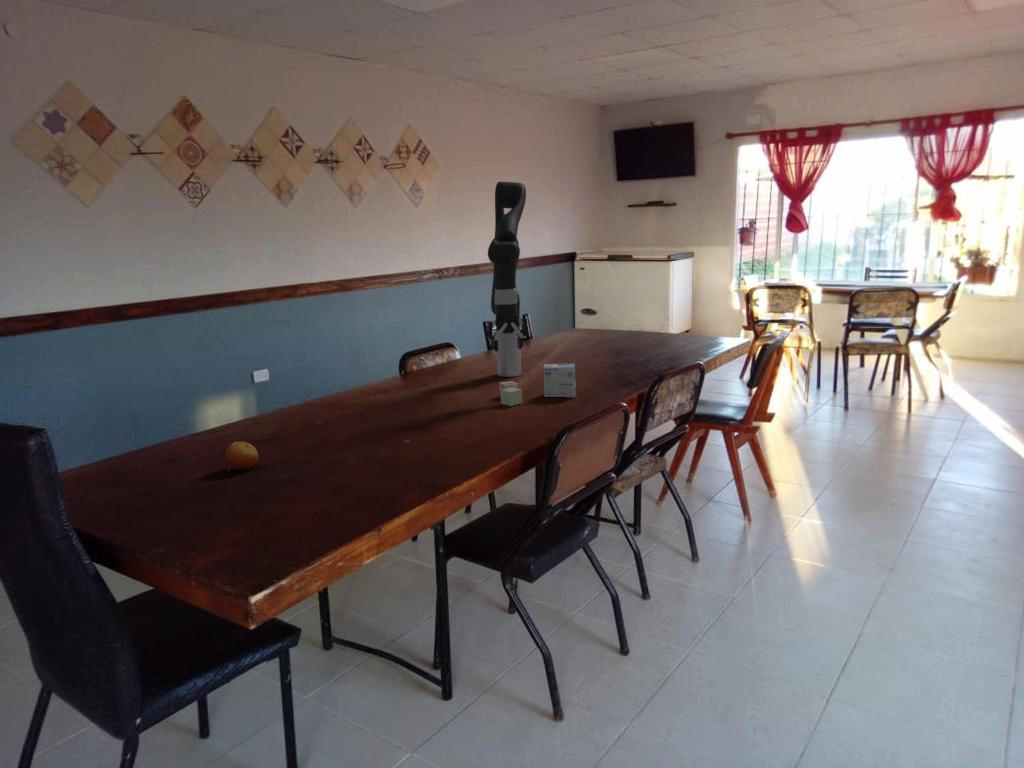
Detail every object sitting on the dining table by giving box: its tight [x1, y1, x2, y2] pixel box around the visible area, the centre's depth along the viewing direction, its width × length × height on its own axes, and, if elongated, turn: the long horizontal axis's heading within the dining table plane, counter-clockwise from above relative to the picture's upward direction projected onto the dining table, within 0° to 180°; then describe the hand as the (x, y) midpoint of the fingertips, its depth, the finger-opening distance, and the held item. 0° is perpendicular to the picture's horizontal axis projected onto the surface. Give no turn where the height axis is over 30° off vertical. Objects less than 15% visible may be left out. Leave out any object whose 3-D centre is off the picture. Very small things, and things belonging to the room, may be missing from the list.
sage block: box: [500, 388, 523, 407], centre depth 245 cm, size 5×5×5 cm
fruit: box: [224, 441, 260, 472], centre depth 188 cm, size 8×8×8 cm
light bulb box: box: [542, 363, 576, 398], centre depth 254 cm, size 11×7×11 cm, turn 84°
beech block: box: [499, 380, 519, 397], centre depth 255 cm, size 5×5×5 cm
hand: (508, 350), depth 252 cm, fingers open, 8 cm apart
